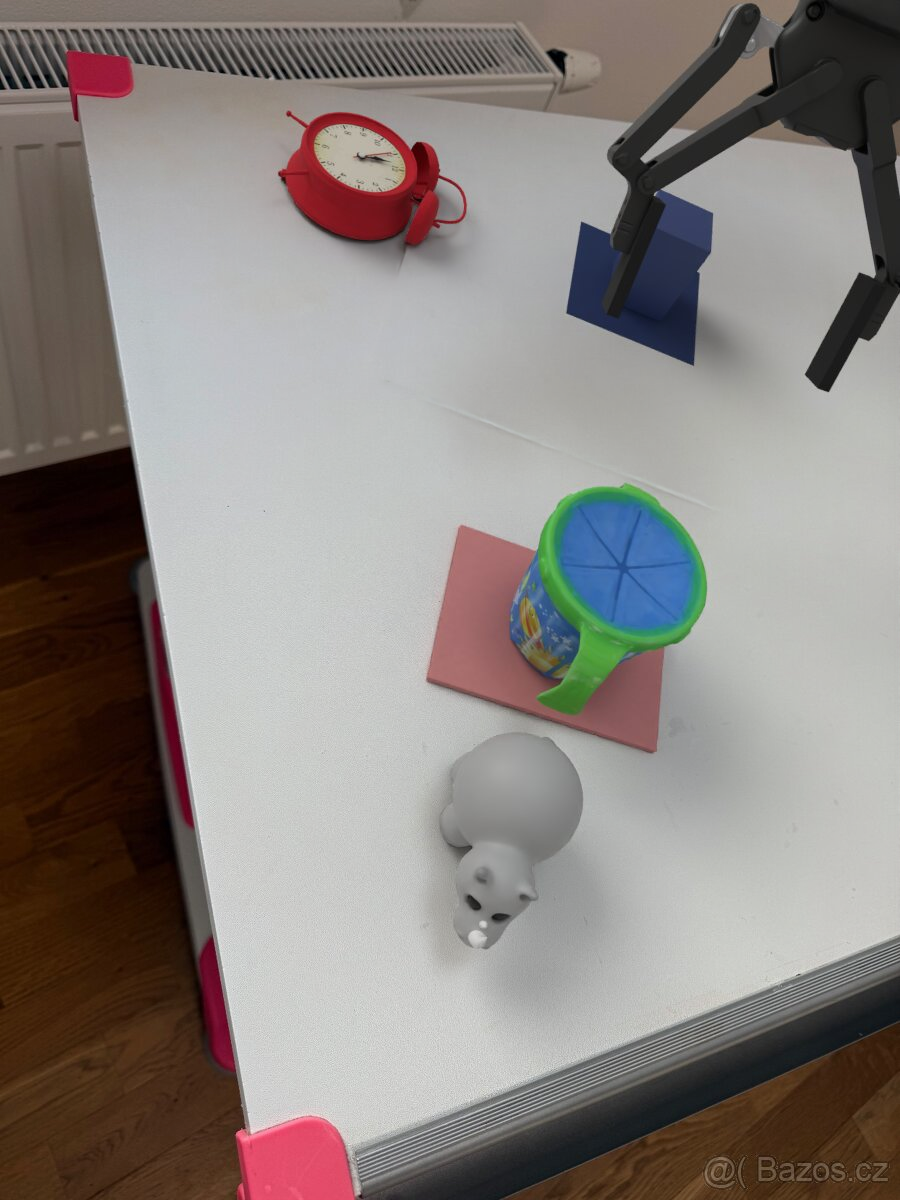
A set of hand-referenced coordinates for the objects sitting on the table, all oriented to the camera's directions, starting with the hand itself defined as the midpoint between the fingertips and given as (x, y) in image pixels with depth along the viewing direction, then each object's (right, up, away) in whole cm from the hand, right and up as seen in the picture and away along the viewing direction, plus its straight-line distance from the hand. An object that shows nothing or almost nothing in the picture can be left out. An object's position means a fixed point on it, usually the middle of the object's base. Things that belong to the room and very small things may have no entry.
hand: (714, 348), depth 58 cm
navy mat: (0, +11, +26) cm, 29 cm away
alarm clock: (-23, +17, +21) cm, 35 cm away
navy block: (0, +12, +26) cm, 29 cm away
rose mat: (-9, -18, +7) cm, 21 cm away
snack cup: (-9, -17, +7) cm, 21 cm away
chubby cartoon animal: (-15, -30, -2) cm, 34 cm away
